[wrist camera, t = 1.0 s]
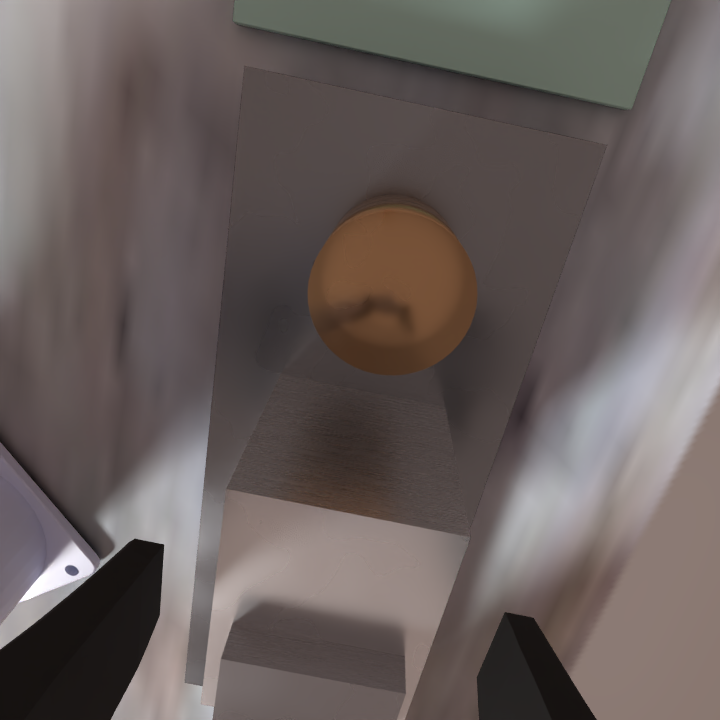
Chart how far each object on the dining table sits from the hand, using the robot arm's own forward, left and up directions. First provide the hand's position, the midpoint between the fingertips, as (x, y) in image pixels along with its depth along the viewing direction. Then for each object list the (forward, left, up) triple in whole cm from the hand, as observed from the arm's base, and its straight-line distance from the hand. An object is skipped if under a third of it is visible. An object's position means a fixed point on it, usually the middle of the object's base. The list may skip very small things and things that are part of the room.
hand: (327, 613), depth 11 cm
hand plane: (0, 0, -7) cm, 7 cm away
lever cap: (0, 0, -5) cm, 5 cm away
